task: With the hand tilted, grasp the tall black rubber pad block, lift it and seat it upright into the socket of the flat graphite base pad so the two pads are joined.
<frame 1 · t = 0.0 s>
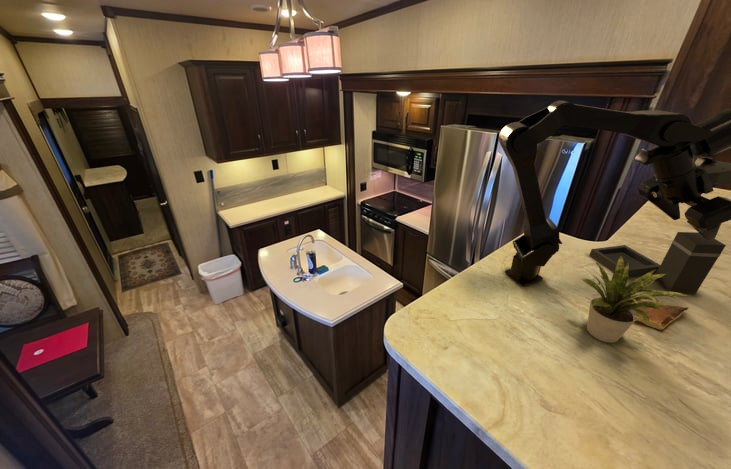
hand: (692, 228, 62), 15 cm above the worktop, tool tilted 35°, fingers open, 9 cm apart
house plant: (601, 337, 57), on the worktop
base pad: (622, 263, 77), on the worktop
black pad: (673, 285, 68), on the worktop
shard: (647, 312, 62), on the worktop
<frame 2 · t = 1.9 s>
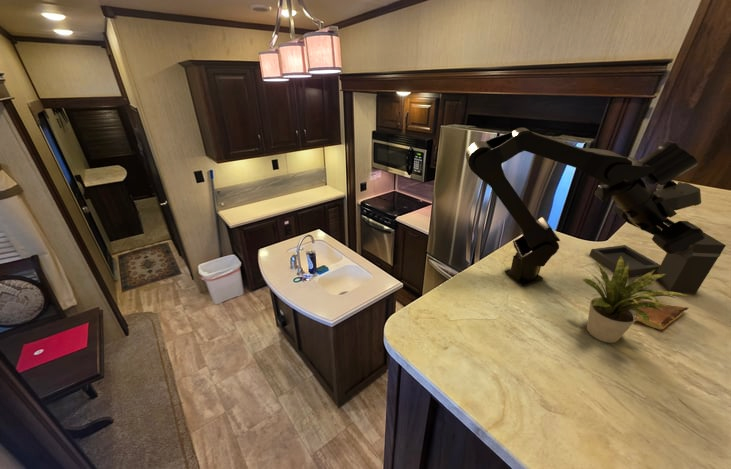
hand: (673, 245, 64), 11 cm above the worktop, tool tilted 45°, fingers open, 9 cm apart
nothing on the worktop moved.
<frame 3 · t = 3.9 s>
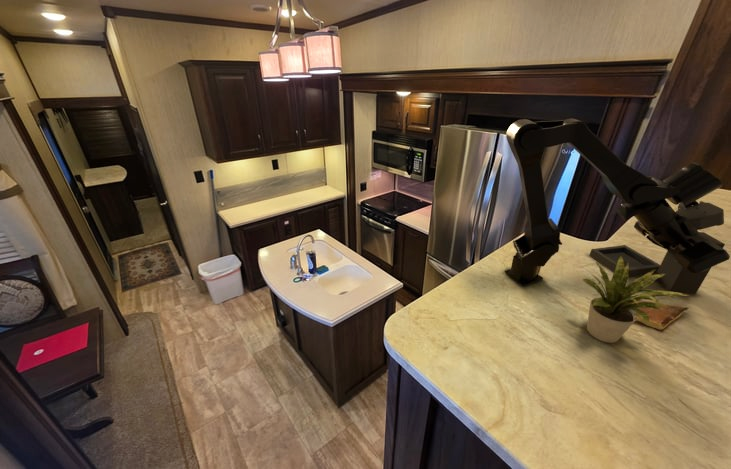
hand: (694, 262, 65), 7 cm above the worktop, tool tilted 45°, fingers closed on black pad, 5 cm apart
black pad: (674, 285, 68), on the worktop, touching gripper
everything else where it was.
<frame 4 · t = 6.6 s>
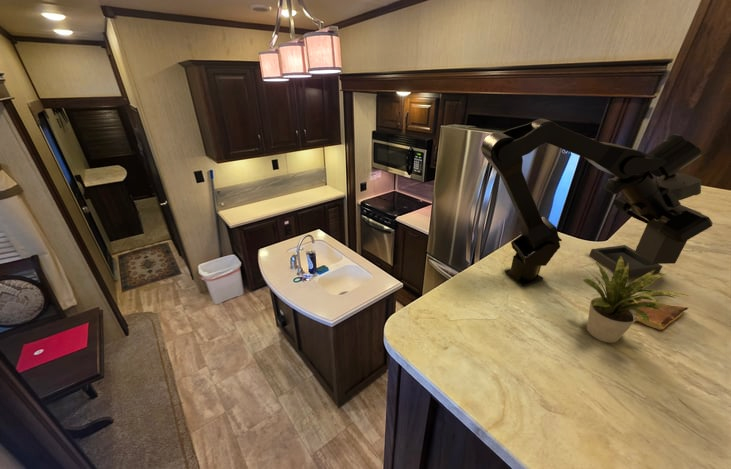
hand: (672, 233, 67), 11 cm above the worktop, tool tilted 45°, fingers closed on black pad, 5 cm apart
black pad: (654, 257, 70), point 5 cm above the worktop, touching gripper
everything else where it was.
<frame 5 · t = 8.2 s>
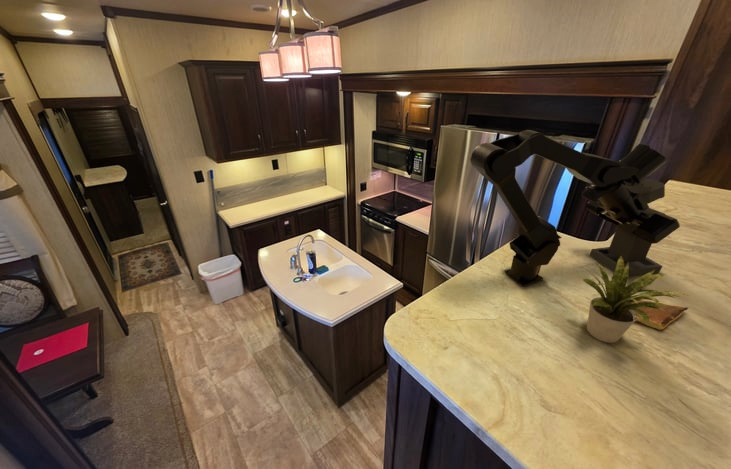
hand: (640, 233, 73), 9 cm above the worktop, tool tilted 45°, fingers closed on black pad, 5 cm apart
black pad: (625, 256, 76), point 3 cm above the worktop, touching gripper
everything else where it was.
when the fingers open (7 cm above the worktop, at t = 9.4 s): black pad stays where it is, resting on base pad.
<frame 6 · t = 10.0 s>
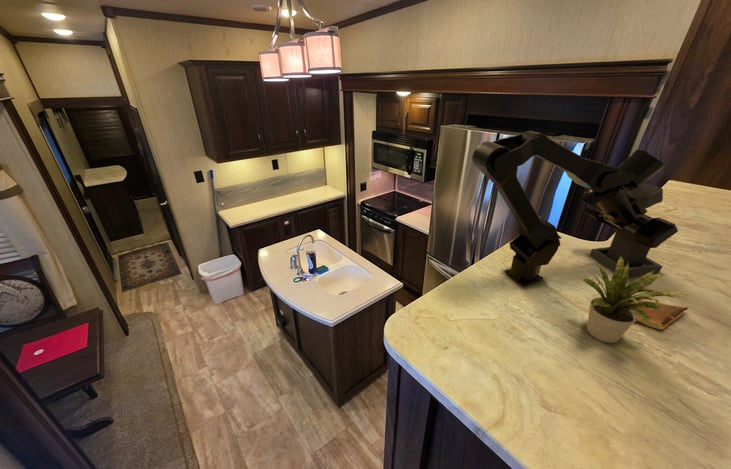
hand: (638, 237, 73), 8 cm above the worktop, tool tilted 45°, fingers open, 9 cm apart
black pad: (622, 262, 76), point 1 cm above the worktop, touching base pad
everything else where it was.
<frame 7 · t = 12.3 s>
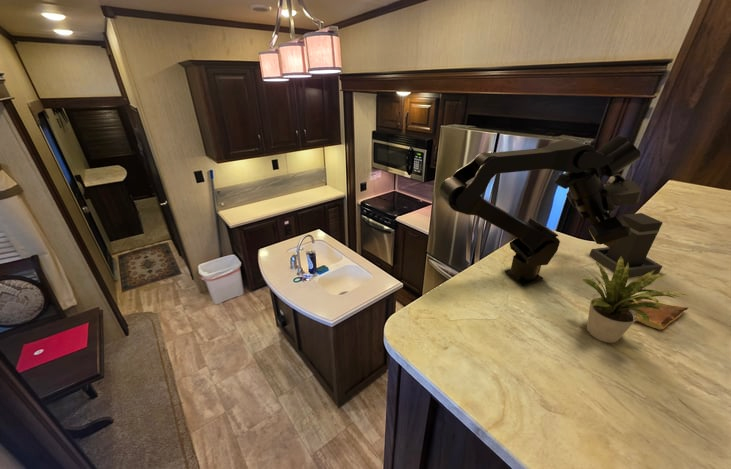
hand: (604, 234, 71), 10 cm above the worktop, tool tilted 35°, fingers open, 9 cm apart
nothing on the worktop moved.
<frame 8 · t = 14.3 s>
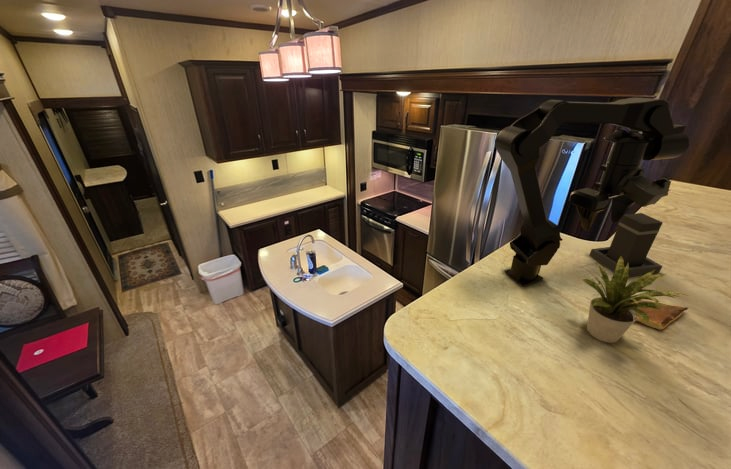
hand: (600, 226, 70), 13 cm above the worktop, tool pointing down, fingers open, 9 cm apart
nothing on the worktop moved.
at the end: black pad 0.1 cm off-centre on the base pad, point 0.6 cm above the base pad's base; black pad tilted 0°; the gripper is holding nothing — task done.
